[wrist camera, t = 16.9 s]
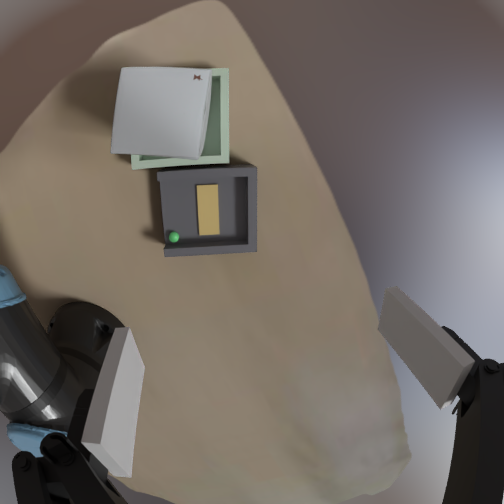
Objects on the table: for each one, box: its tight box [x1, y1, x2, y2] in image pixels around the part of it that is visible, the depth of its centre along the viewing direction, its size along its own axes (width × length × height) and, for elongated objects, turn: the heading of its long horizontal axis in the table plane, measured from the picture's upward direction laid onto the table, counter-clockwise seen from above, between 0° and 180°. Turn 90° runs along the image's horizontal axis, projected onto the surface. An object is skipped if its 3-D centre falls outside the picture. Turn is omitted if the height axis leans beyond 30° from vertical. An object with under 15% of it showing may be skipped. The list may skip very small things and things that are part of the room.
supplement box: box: [110, 67, 212, 160], centre depth 25 cm, size 7×7×13 cm
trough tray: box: [131, 68, 229, 170], centre depth 30 cm, size 11×11×3 cm
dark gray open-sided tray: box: [157, 164, 257, 257], centre depth 34 cm, size 11×10×4 cm
